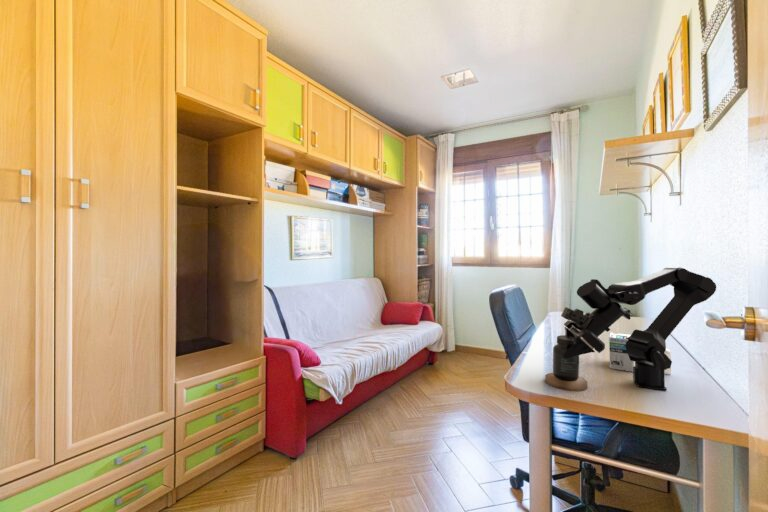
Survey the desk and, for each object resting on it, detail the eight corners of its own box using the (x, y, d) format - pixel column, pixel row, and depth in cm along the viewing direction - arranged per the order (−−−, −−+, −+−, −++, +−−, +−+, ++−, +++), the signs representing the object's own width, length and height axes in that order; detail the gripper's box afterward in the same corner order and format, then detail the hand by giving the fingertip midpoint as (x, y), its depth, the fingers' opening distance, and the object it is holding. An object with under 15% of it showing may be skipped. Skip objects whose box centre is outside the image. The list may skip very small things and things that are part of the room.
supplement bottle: (553, 370, 103) (553, 332, 102) (578, 374, 99) (579, 336, 98) (552, 378, 97) (552, 339, 96) (578, 383, 94) (579, 343, 93)
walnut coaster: (585, 380, 100) (585, 376, 100) (589, 393, 90) (589, 388, 90) (545, 375, 105) (545, 370, 105) (544, 386, 95) (544, 381, 95)
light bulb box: (633, 372, 108) (633, 339, 108) (609, 368, 112) (608, 337, 112) (633, 364, 116) (633, 334, 116) (610, 361, 120) (610, 331, 121)
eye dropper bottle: (667, 376, 104) (666, 338, 104) (646, 371, 109) (645, 335, 109) (673, 374, 106) (672, 337, 106) (652, 369, 111) (651, 333, 111)
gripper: (570, 295, 106) (534, 327, 109) (590, 302, 88) (546, 341, 91) (598, 320, 104) (560, 353, 106) (625, 332, 86) (578, 371, 88)
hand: (560, 353), depth 98 cm, fingers closed on supplement bottle, 7 cm apart
